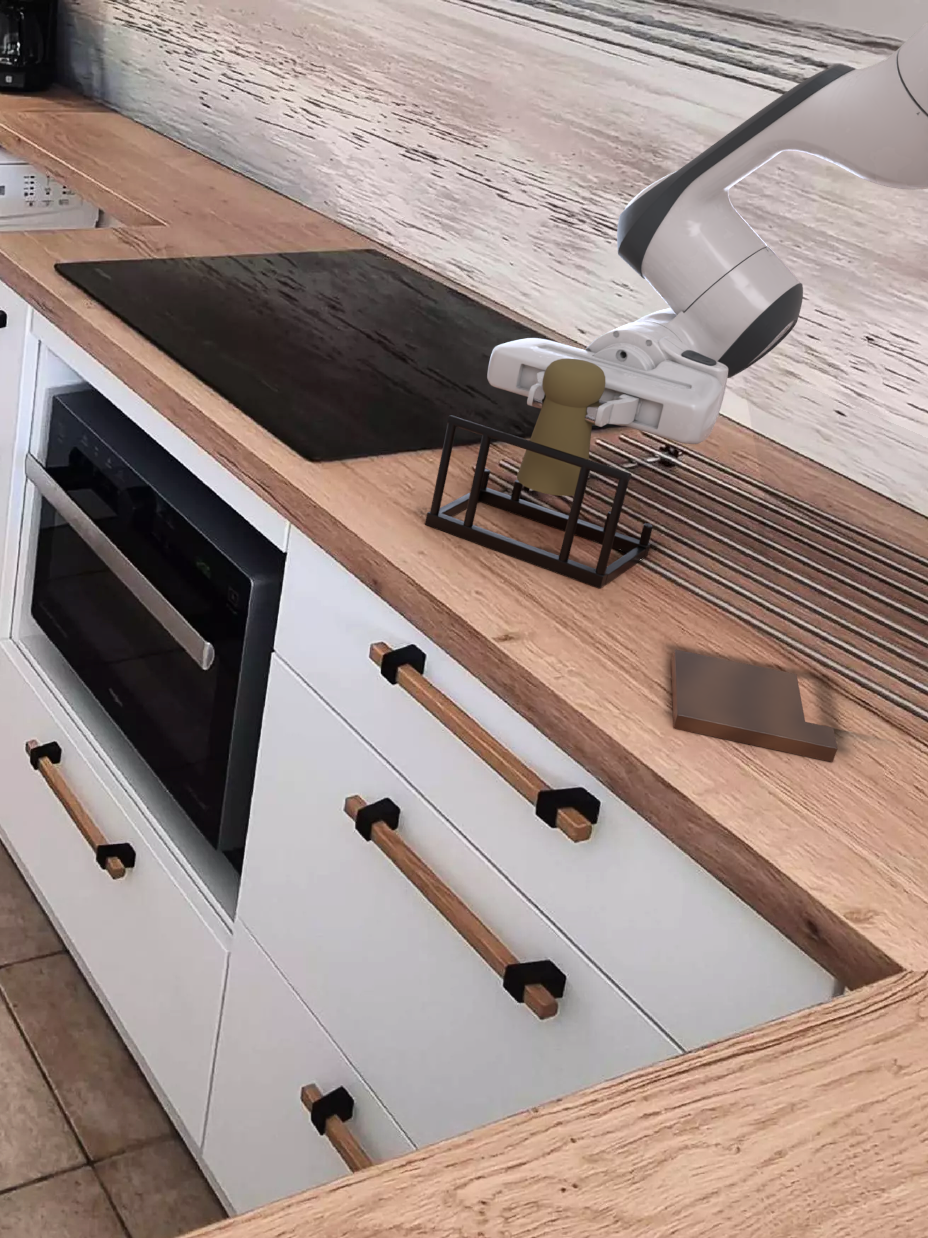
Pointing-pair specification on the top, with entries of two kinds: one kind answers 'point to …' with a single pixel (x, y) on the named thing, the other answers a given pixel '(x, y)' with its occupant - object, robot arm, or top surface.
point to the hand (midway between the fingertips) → (564, 407)
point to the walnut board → (745, 706)
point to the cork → (562, 425)
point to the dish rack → (537, 511)
